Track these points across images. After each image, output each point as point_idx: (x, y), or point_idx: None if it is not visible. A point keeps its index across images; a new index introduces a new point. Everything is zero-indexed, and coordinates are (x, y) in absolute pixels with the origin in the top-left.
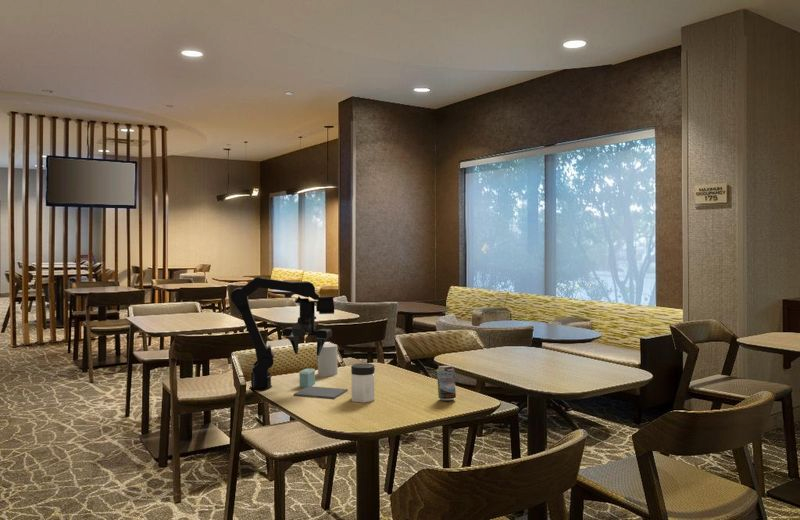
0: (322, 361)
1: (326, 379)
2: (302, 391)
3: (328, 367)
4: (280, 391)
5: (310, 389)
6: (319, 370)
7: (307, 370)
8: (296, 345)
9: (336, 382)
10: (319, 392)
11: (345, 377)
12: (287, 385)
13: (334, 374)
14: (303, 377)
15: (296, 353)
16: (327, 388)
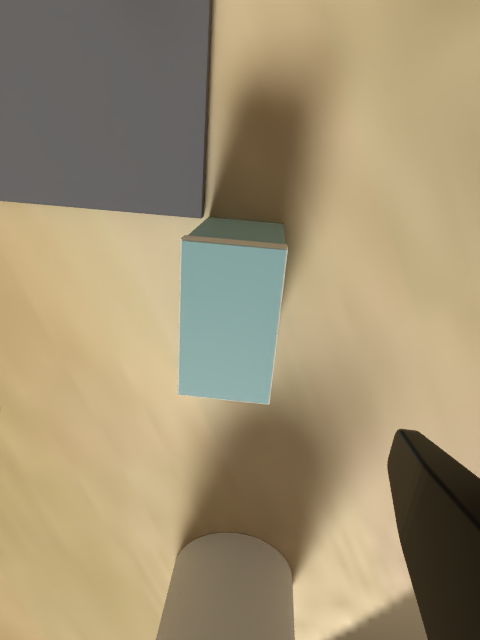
0: (235, 635)
1: (182, 463)
2: (169, 2)
3: (196, 588)
4: (402, 22)
5: (133, 102)
6: (268, 574)
7: (220, 319)
8: (467, 613)
9: (83, 401)
10: (5, 5)
11: (93, 518)
12: (402, 258)
13: (177, 558)
14: (240, 233)
15: (399, 445)
16: (18, 173)
